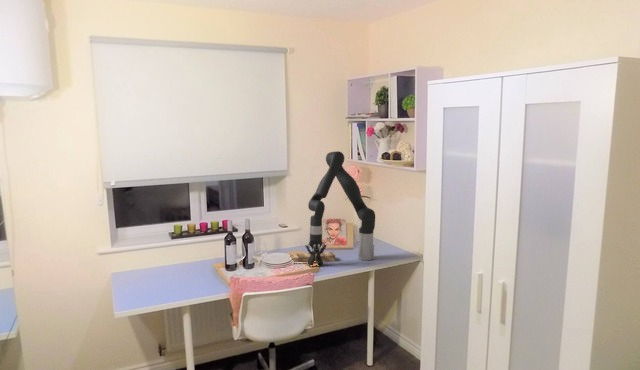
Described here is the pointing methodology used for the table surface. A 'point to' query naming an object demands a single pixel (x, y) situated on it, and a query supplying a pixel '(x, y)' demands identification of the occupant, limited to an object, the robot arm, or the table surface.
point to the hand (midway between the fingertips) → (315, 260)
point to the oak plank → (305, 257)
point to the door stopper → (312, 257)
